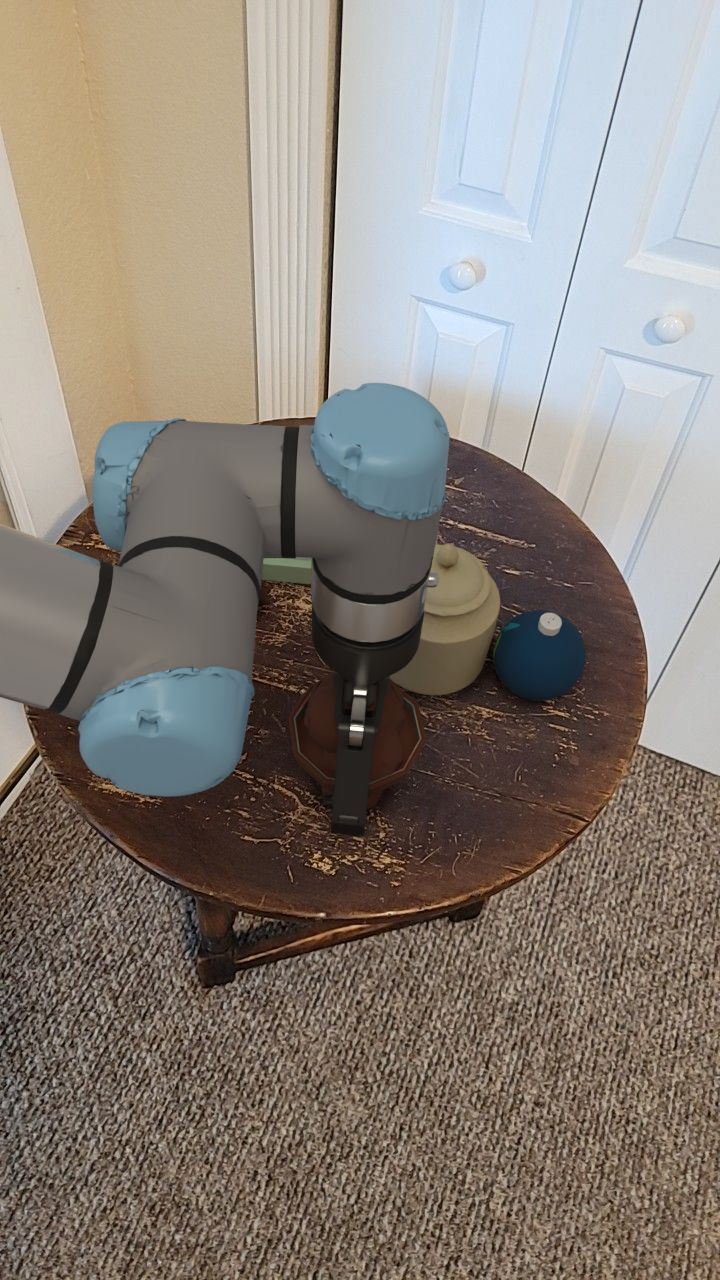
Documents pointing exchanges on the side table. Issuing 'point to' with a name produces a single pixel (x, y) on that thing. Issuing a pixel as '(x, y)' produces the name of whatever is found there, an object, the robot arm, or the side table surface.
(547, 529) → the side table surface
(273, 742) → the side table surface
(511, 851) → the side table surface
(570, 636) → the christmas ornament
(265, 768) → the side table surface
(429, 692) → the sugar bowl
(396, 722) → the ice cream bowl
